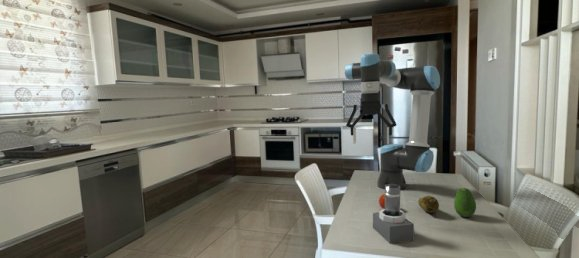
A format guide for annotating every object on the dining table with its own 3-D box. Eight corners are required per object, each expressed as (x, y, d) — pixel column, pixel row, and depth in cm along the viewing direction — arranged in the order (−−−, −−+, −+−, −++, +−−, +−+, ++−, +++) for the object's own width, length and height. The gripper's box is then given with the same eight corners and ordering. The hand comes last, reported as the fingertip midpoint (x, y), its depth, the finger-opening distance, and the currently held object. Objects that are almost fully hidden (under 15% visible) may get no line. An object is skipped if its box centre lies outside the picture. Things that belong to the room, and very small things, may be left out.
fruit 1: (390, 213, 135) (390, 195, 134) (376, 209, 140) (375, 192, 139) (397, 208, 140) (397, 191, 139) (383, 205, 145) (383, 188, 144)
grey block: (372, 227, 121) (372, 207, 120) (394, 225, 123) (394, 205, 122) (389, 243, 109) (389, 221, 108) (413, 240, 110) (413, 218, 109)
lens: (384, 220, 114) (384, 186, 112) (385, 214, 118) (385, 182, 117) (399, 221, 112) (400, 188, 110) (399, 216, 117) (400, 183, 115)
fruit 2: (477, 221, 124) (478, 192, 123) (455, 219, 127) (456, 190, 125) (473, 214, 131) (474, 186, 130) (452, 212, 134) (453, 184, 133)
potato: (438, 208, 139) (439, 190, 138) (438, 219, 128) (439, 200, 127) (418, 206, 143) (418, 188, 142) (416, 216, 131) (417, 197, 130)
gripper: (338, 93, 130) (340, 144, 133) (402, 91, 122) (402, 145, 125) (341, 93, 137) (342, 141, 140) (402, 91, 129) (402, 141, 132)
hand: (371, 143), depth 132 cm, fingers open, 13 cm apart
